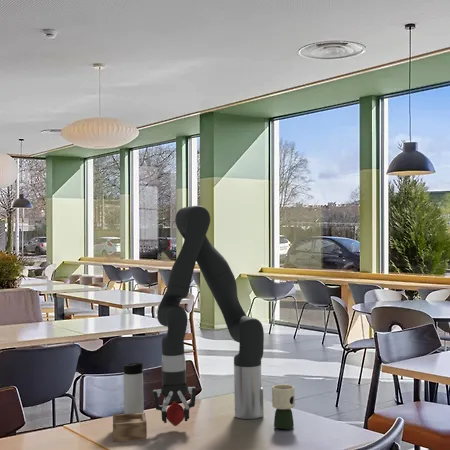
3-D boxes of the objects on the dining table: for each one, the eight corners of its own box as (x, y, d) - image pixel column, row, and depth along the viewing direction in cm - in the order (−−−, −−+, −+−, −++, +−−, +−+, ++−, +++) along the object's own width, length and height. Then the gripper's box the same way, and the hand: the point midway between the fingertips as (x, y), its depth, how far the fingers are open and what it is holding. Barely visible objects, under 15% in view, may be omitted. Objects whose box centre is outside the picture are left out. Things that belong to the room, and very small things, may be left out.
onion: (186, 423, 206) (185, 398, 206) (183, 428, 201) (182, 403, 201) (168, 423, 207) (167, 398, 207) (164, 428, 201) (164, 403, 201)
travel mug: (134, 427, 207) (133, 365, 207) (120, 424, 211) (119, 363, 211) (148, 423, 212) (147, 361, 212) (134, 419, 216) (133, 359, 216)
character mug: (293, 434, 198) (292, 391, 198) (270, 433, 199) (269, 390, 199) (296, 423, 208) (295, 383, 208) (274, 422, 210) (273, 382, 210)
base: (145, 429, 205) (144, 412, 205) (146, 439, 195) (146, 421, 195) (113, 431, 203) (112, 415, 203) (113, 441, 193) (112, 424, 194)
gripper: (194, 364, 209) (196, 416, 209) (150, 367, 206) (151, 420, 206) (197, 369, 201) (199, 423, 201) (151, 372, 199) (153, 427, 199)
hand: (175, 421), depth 204 cm, fingers closed on onion, 6 cm apart
